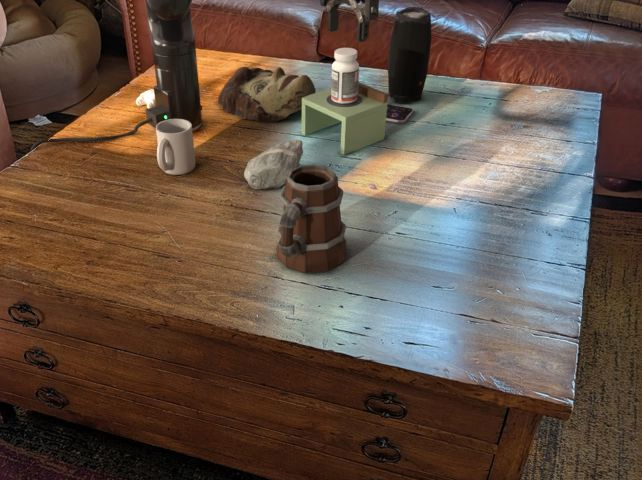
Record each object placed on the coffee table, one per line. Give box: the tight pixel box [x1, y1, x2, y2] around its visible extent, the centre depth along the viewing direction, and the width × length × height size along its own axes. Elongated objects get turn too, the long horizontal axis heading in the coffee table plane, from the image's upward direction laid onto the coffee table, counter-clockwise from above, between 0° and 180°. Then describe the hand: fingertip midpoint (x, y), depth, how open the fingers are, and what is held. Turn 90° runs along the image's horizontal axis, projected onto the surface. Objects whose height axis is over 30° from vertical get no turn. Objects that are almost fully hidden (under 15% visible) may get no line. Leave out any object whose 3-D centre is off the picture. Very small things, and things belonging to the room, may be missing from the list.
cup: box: [155, 119, 196, 176], centre depth 148 cm, size 7×10×9 cm
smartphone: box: [386, 103, 414, 124], centre depth 170 cm, size 8×1×15 cm
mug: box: [276, 163, 347, 274], centre depth 119 cm, size 16×12×15 cm
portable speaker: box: [387, 6, 433, 104], centre depth 170 cm, size 9×9×20 cm
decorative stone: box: [243, 139, 304, 190], centre depth 145 cm, size 13×10×6 cm
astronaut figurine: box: [135, 88, 156, 109], centre depth 177 cm, size 9×12×3 cm
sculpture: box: [217, 66, 317, 123], centre depth 172 cm, size 21×10×25 cm
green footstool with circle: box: [301, 81, 389, 156], centre depth 157 cm, size 12×14×10 cm
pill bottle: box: [330, 47, 360, 104], centre depth 152 cm, size 6×6×10 cm
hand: (347, 35), depth 146 cm, fingers open, 8 cm apart
